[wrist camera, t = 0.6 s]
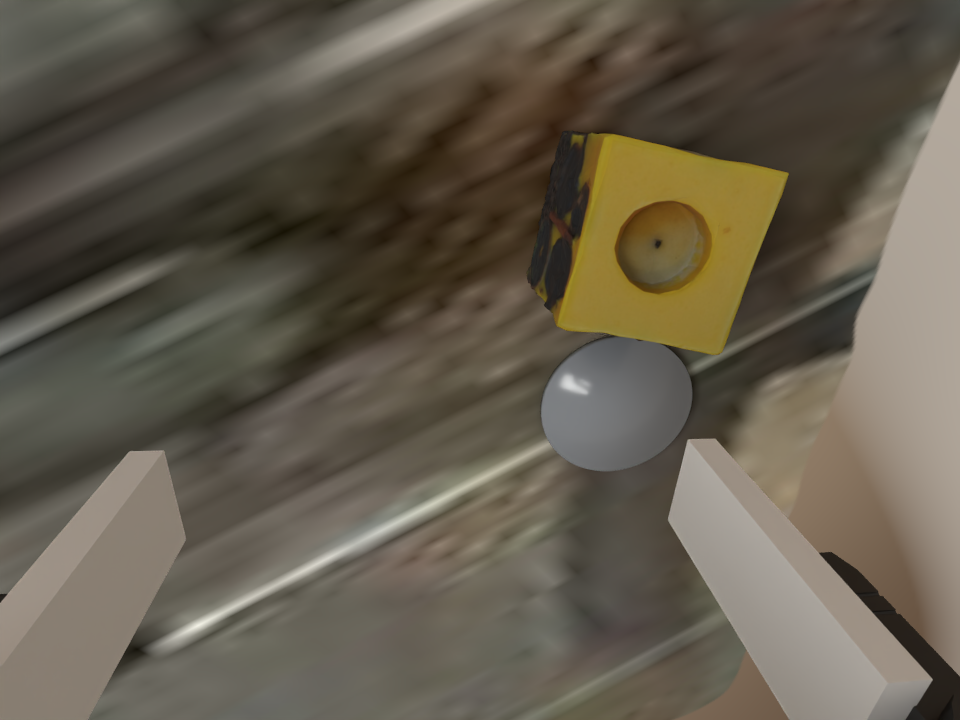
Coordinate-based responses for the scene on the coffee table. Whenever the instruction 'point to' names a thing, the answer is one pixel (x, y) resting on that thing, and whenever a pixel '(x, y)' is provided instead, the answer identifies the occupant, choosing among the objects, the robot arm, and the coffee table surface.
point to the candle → (649, 239)
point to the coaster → (615, 403)
